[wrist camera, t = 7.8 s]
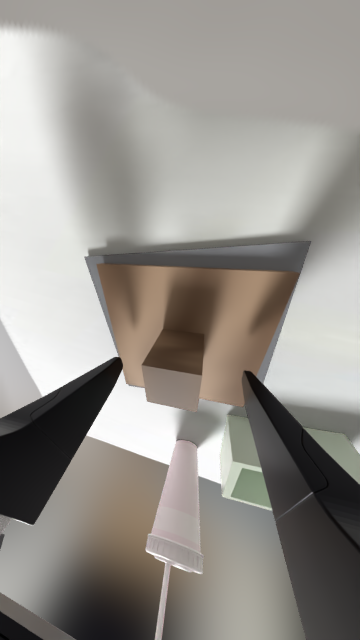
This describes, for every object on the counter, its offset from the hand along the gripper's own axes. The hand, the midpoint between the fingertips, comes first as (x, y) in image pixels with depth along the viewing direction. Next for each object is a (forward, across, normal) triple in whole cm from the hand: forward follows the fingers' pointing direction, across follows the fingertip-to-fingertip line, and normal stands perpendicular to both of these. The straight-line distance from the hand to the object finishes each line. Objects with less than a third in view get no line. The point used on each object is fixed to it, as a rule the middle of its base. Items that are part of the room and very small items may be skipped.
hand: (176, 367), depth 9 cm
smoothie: (+4, +1, +22) cm, 22 cm away
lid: (+3, 0, 0) cm, 3 cm away
